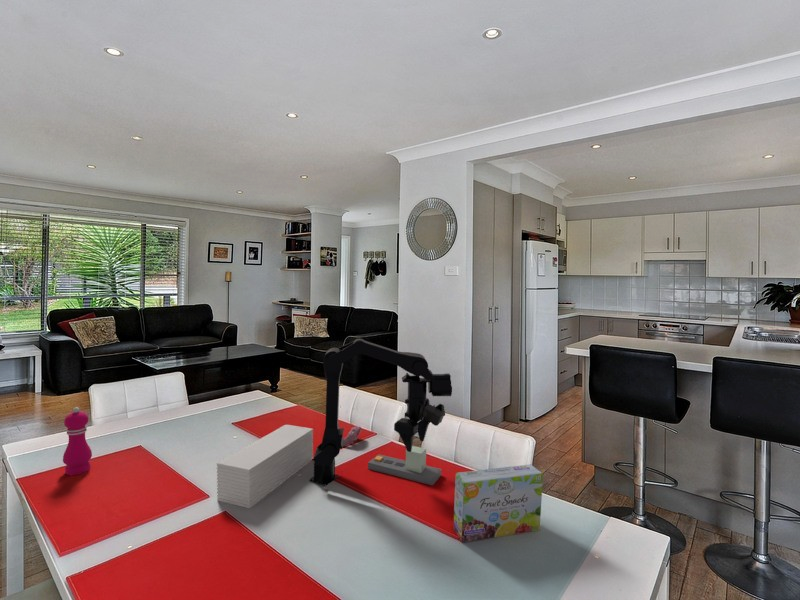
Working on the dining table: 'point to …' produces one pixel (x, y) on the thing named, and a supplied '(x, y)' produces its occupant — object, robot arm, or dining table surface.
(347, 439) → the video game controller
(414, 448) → the block
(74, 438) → the pepper mill
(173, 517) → the dining table surface
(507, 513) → the snack box
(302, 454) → the stack of papers
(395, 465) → the power strip
